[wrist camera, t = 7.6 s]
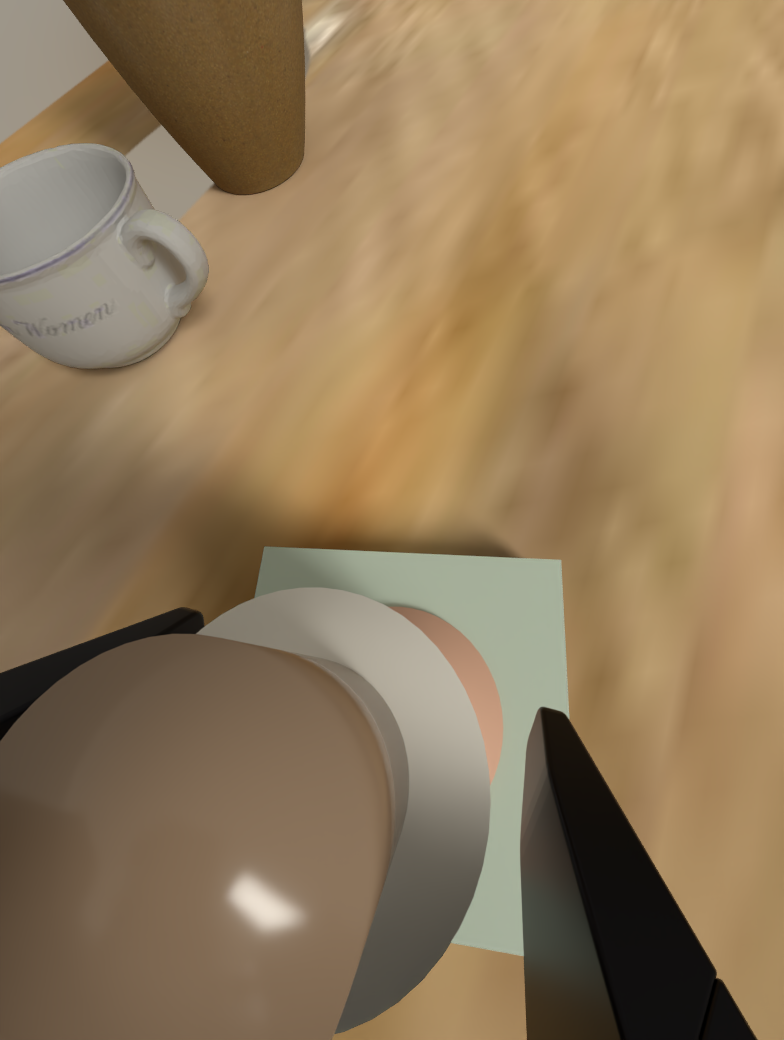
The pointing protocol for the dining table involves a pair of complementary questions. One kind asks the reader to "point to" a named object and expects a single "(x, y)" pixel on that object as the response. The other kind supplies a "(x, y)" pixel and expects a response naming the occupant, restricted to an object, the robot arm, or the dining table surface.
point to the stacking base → (468, 675)
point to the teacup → (91, 259)
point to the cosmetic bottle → (239, 828)
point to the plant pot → (214, 79)
